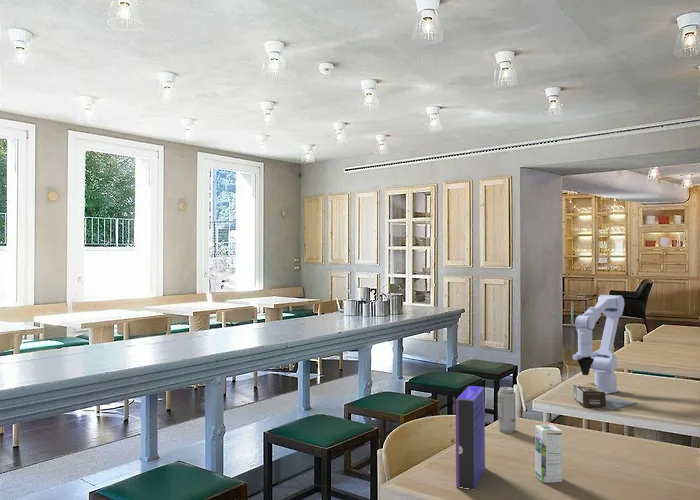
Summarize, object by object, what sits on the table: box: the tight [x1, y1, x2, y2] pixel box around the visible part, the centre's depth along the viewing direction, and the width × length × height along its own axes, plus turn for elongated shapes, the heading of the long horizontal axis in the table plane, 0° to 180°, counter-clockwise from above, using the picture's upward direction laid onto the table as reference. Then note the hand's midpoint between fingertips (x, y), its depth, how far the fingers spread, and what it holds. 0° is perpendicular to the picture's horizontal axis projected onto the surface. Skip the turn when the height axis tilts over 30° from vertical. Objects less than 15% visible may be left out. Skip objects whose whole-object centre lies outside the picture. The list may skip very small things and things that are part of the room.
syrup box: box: [534, 424, 563, 484], centre depth 165 cm, size 6×6×14 cm
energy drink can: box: [497, 386, 517, 434], centre depth 209 cm, size 6×6×15 cm
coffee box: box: [571, 382, 606, 408], centre depth 246 cm, size 9×6×16 cm
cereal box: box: [455, 385, 486, 490], centre depth 167 cm, size 17×5×24 cm, turn 157°
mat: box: [576, 395, 638, 411], centre depth 246 cm, size 18×16×1 cm
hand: (585, 374), depth 254 cm, fingers closed
